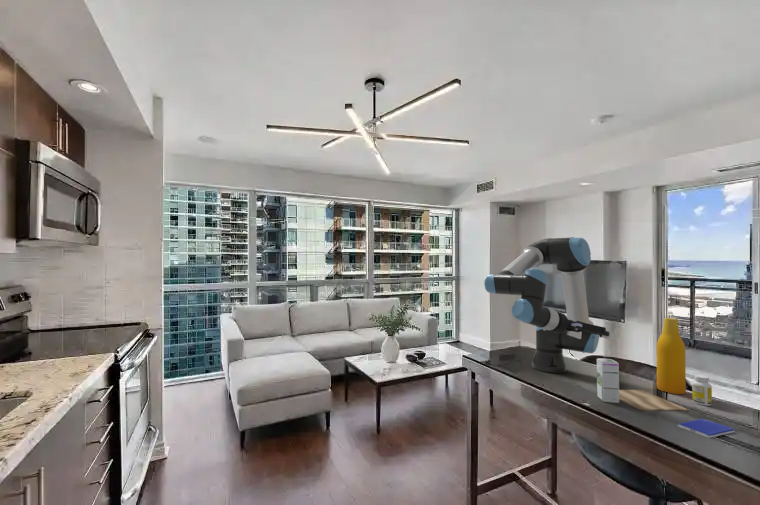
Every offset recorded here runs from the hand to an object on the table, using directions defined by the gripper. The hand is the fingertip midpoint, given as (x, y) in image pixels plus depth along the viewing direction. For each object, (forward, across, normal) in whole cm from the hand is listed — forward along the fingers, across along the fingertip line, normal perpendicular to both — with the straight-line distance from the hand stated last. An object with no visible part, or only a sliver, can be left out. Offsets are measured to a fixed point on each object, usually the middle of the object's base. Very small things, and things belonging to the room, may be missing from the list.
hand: (596, 336), depth 138 cm
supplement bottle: (+41, +11, -14) cm, 44 cm away
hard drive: (+17, +26, -24) cm, 39 cm away
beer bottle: (+44, -2, -11) cm, 45 cm away
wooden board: (+22, +2, -18) cm, 29 cm away
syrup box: (+10, -1, -21) cm, 24 cm away
